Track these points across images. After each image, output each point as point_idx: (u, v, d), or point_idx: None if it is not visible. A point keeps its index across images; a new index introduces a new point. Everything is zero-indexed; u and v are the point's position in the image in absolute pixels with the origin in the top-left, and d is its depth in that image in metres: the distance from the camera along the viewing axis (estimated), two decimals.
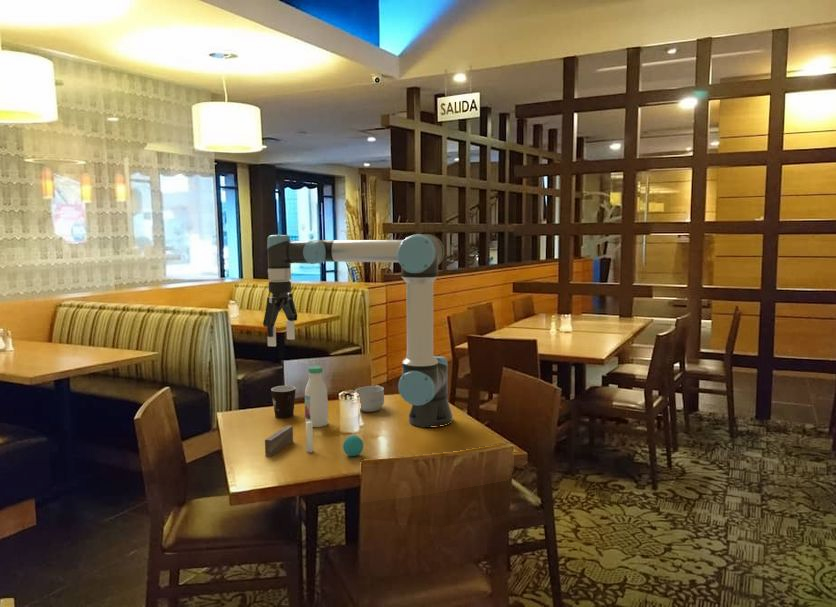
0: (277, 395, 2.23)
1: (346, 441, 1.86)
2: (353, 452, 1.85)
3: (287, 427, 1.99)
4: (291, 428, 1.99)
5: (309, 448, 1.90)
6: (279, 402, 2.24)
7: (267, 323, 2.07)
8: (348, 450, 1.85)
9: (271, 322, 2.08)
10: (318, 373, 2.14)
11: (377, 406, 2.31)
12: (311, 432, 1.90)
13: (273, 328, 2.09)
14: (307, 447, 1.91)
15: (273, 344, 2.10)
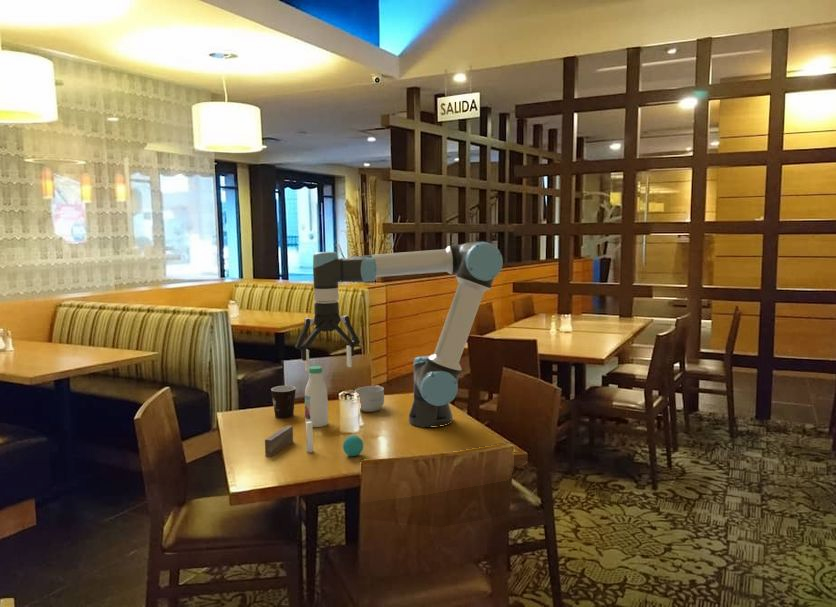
0: (277, 395, 2.23)
1: (346, 441, 1.86)
2: (353, 452, 1.85)
3: (287, 427, 1.99)
4: (291, 428, 1.99)
5: (309, 448, 1.90)
6: (279, 402, 2.24)
7: (296, 346, 1.95)
8: (348, 450, 1.85)
9: (300, 345, 1.95)
10: (318, 373, 2.14)
11: (377, 406, 2.31)
12: (311, 432, 1.90)
13: (305, 352, 1.96)
14: (307, 447, 1.91)
15: (306, 369, 1.97)
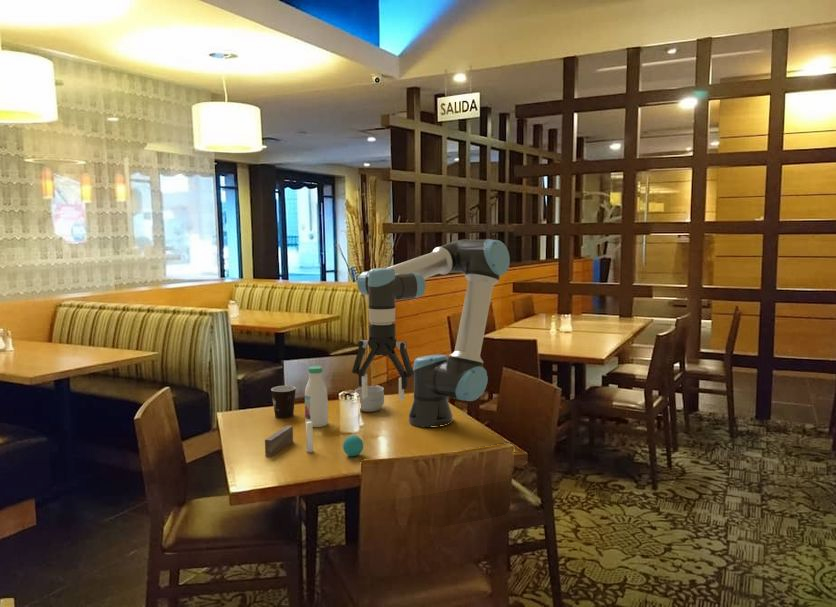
0: (277, 395, 2.23)
1: (346, 441, 1.86)
2: (353, 452, 1.85)
3: (287, 427, 1.99)
4: (291, 428, 1.99)
5: (309, 448, 1.90)
6: (279, 402, 2.24)
7: None
8: (348, 450, 1.85)
9: (356, 369, 1.83)
10: (318, 373, 2.14)
11: (377, 406, 2.31)
12: (311, 432, 1.90)
13: (361, 377, 1.83)
14: (307, 447, 1.91)
15: None
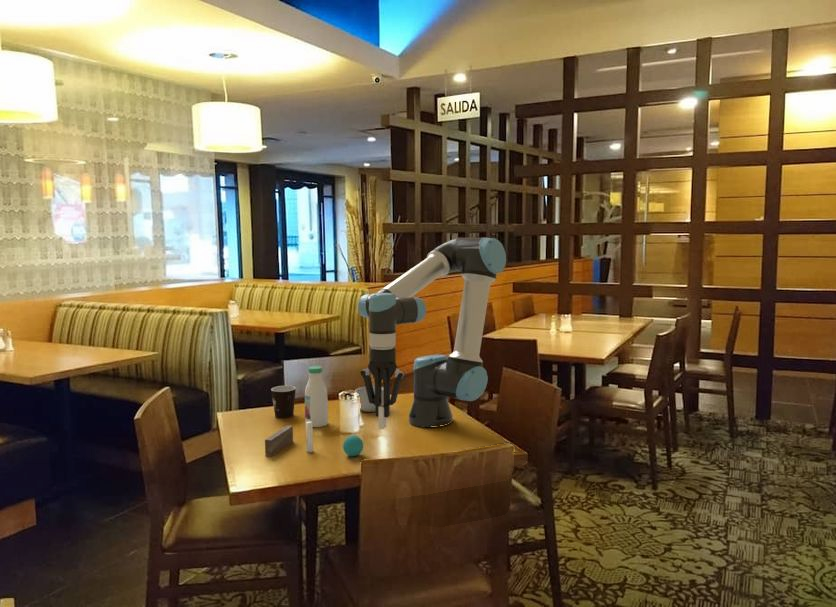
0: (277, 395, 2.23)
1: (346, 441, 1.86)
2: (353, 452, 1.85)
3: (287, 427, 1.99)
4: (291, 428, 1.99)
5: (309, 448, 1.90)
6: (279, 402, 2.24)
7: None
8: (348, 450, 1.85)
9: (371, 398, 1.83)
10: (318, 373, 2.14)
11: None
12: (311, 432, 1.90)
13: (378, 407, 1.83)
14: (307, 447, 1.91)
15: None
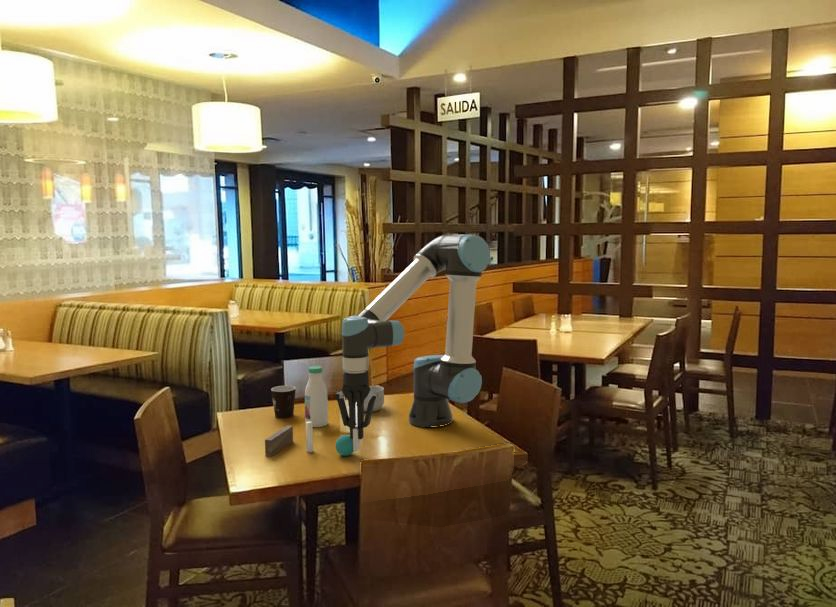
0: (277, 395, 2.23)
1: (336, 444, 1.86)
2: (347, 449, 1.85)
3: (287, 427, 1.99)
4: (291, 428, 1.99)
5: (309, 448, 1.90)
6: (279, 402, 2.24)
7: None
8: (342, 450, 1.85)
9: (346, 421, 1.85)
10: (318, 373, 2.14)
11: (377, 406, 2.31)
12: (311, 432, 1.90)
13: (353, 430, 1.85)
14: (307, 447, 1.91)
15: None
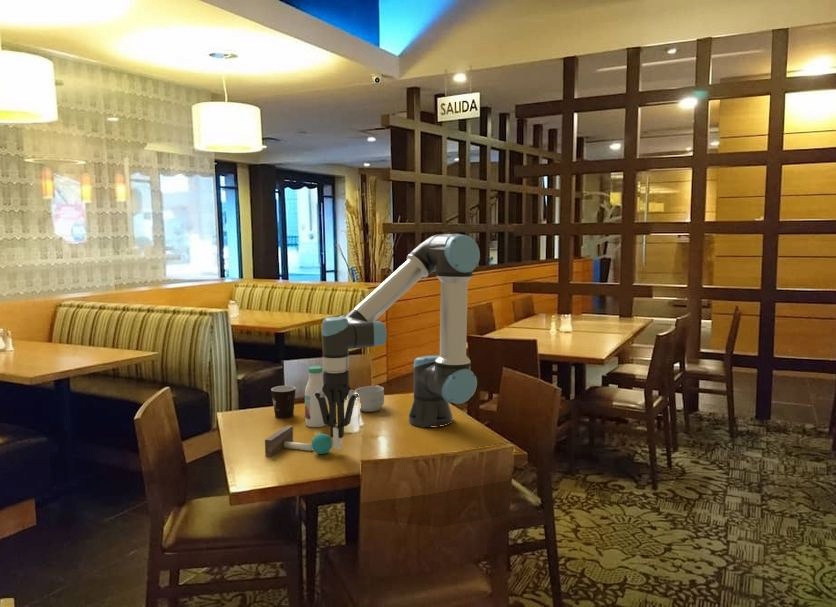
0: (277, 395, 2.23)
1: (320, 453, 1.88)
2: (316, 443, 1.87)
3: (287, 427, 1.99)
4: (291, 428, 1.99)
5: (307, 444, 1.92)
6: (279, 402, 2.24)
7: None
8: (319, 447, 1.86)
9: (326, 420, 1.88)
10: (318, 373, 2.14)
11: (377, 406, 2.31)
12: None
13: (333, 429, 1.87)
14: (305, 445, 1.92)
15: None
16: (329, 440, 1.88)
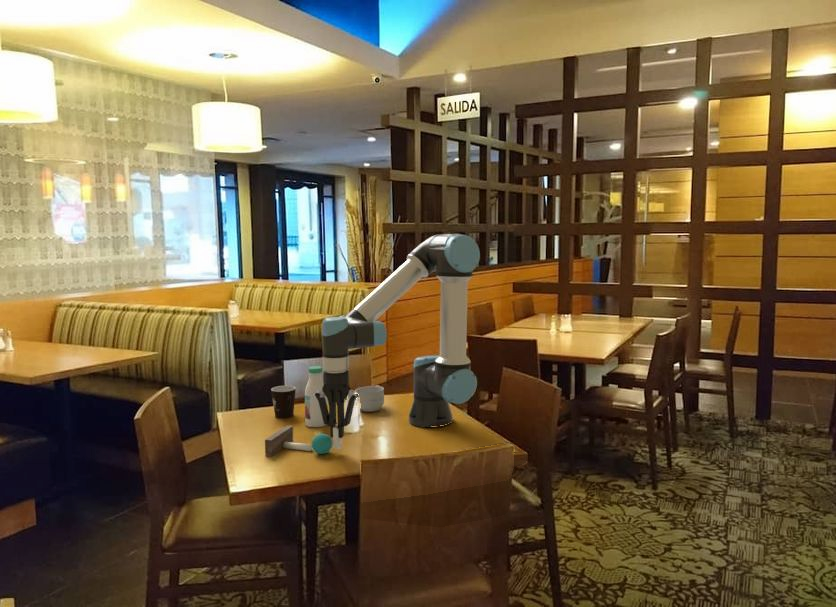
0: (277, 395, 2.23)
1: (320, 453, 1.88)
2: (316, 443, 1.87)
3: (287, 427, 1.99)
4: (291, 428, 1.99)
5: (306, 445, 1.92)
6: (279, 402, 2.24)
7: None
8: (319, 447, 1.86)
9: (326, 420, 1.88)
10: (318, 373, 2.14)
11: (377, 406, 2.31)
12: (293, 442, 1.94)
13: (333, 429, 1.87)
14: (305, 447, 1.92)
15: None
16: (329, 440, 1.88)
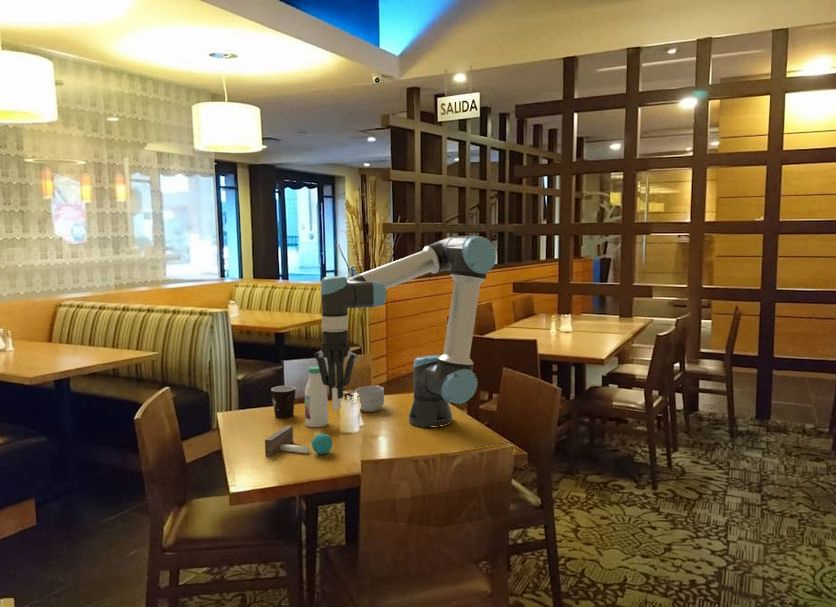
0: (277, 395, 2.23)
1: (320, 453, 1.88)
2: (316, 443, 1.87)
3: (287, 427, 1.99)
4: (291, 428, 1.99)
5: None
6: (279, 402, 2.24)
7: None
8: (319, 447, 1.86)
9: (325, 380, 1.86)
10: (318, 373, 2.14)
11: (377, 406, 2.31)
12: (288, 450, 1.91)
13: (332, 389, 1.86)
14: None
15: None
16: (329, 440, 1.88)
